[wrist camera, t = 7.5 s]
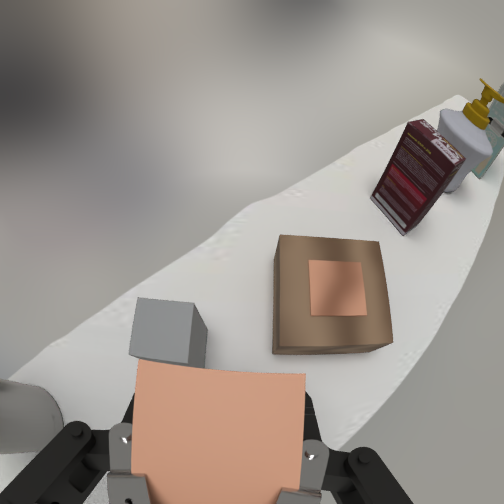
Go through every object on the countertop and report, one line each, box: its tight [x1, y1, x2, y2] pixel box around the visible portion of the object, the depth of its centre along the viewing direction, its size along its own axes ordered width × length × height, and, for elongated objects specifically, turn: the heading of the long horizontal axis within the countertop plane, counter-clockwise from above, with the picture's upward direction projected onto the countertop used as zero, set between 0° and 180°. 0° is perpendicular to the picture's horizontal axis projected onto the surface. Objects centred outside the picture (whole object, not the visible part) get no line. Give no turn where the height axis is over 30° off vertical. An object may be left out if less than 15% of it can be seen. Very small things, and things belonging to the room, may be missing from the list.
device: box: [471, 83, 504, 179], centre depth 39 cm, size 16×8×30 cm, turn 127°
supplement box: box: [370, 119, 466, 235], centre depth 33 cm, size 9×5×16 cm, turn 31°
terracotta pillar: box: [131, 359, 306, 504], centre depth 11 cm, size 5×5×10 cm
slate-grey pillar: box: [129, 297, 208, 369], centre depth 25 cm, size 5×5×10 cm
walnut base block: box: [272, 235, 393, 355], centre depth 30 cm, size 12×12×6 cm
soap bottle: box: [437, 79, 504, 192], centre depth 35 cm, size 13×13×25 cm
